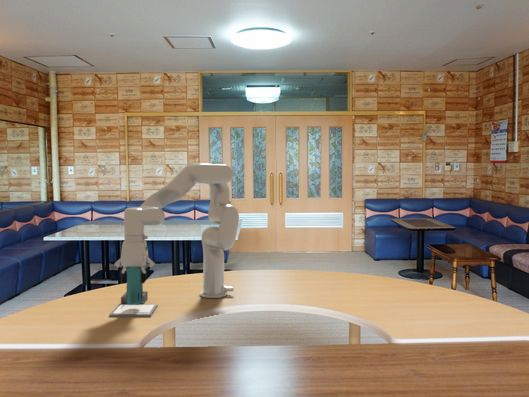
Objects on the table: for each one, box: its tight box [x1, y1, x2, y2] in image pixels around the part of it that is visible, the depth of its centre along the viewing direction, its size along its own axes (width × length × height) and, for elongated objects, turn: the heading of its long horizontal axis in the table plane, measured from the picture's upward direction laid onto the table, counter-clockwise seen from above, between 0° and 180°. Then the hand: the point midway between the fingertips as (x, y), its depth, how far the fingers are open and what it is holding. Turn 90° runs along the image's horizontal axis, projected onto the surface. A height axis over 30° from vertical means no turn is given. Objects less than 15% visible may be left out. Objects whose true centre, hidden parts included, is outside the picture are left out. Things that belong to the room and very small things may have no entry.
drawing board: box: [108, 303, 159, 318], centre depth 175 cm, size 16×13×1 cm
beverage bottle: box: [126, 267, 144, 305], centre depth 174 cm, size 6×7×20 cm
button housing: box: [120, 290, 148, 304], centre depth 187 cm, size 9×9×4 cm
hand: (134, 282), depth 174 cm, fingers closed on beverage bottle, 6 cm apart
